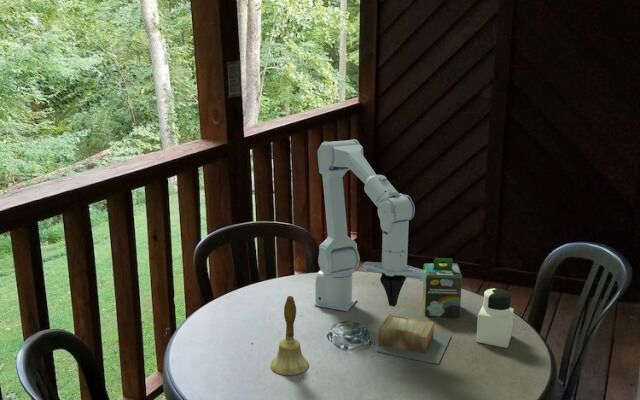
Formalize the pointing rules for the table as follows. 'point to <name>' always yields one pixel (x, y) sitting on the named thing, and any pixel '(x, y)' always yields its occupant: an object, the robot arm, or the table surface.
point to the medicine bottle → (495, 318)
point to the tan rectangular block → (406, 333)
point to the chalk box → (442, 288)
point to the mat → (431, 355)
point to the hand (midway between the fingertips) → (392, 304)
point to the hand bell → (289, 346)
